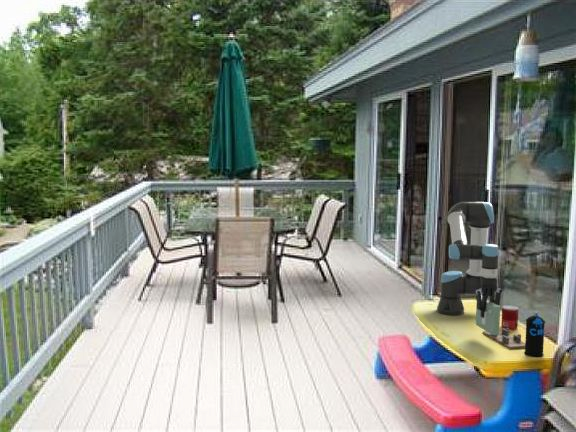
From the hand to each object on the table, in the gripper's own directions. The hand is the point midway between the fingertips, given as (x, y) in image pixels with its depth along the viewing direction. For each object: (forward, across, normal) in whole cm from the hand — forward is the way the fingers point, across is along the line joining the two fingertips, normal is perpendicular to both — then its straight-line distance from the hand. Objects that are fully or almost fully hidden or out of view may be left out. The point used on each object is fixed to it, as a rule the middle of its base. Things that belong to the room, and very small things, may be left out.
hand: (487, 323), depth 286 cm
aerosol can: (+9, +12, -20) cm, 25 cm away
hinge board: (+9, +10, 0) cm, 13 cm away
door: (+3, 0, 0) cm, 3 cm away
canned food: (+10, +24, +18) cm, 31 cm away
